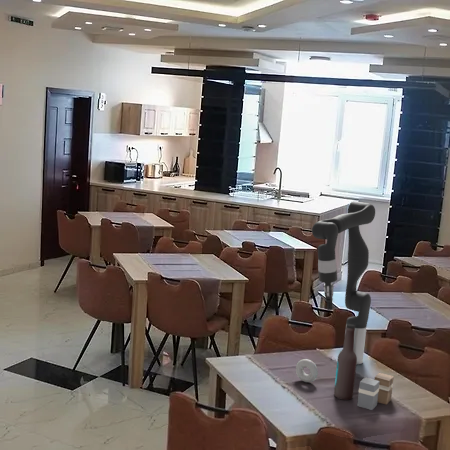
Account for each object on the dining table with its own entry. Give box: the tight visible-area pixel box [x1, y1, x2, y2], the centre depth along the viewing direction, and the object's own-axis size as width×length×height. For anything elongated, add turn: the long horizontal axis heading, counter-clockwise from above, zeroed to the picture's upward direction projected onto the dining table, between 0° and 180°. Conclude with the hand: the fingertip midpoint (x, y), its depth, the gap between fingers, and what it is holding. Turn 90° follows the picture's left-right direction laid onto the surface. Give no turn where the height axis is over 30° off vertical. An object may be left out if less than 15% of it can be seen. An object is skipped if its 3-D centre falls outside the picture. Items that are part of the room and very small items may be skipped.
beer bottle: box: [333, 324, 357, 401], centre depth 273 cm, size 8×8×30 cm
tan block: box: [373, 372, 395, 405], centre depth 273 cm, size 6×6×10 cm
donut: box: [295, 358, 319, 383], centre depth 286 cm, size 10×4×10 cm, turn 57°
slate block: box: [356, 377, 380, 411], centre depth 267 cm, size 6×6×10 cm
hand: (330, 309), depth 284 cm, fingers closed
